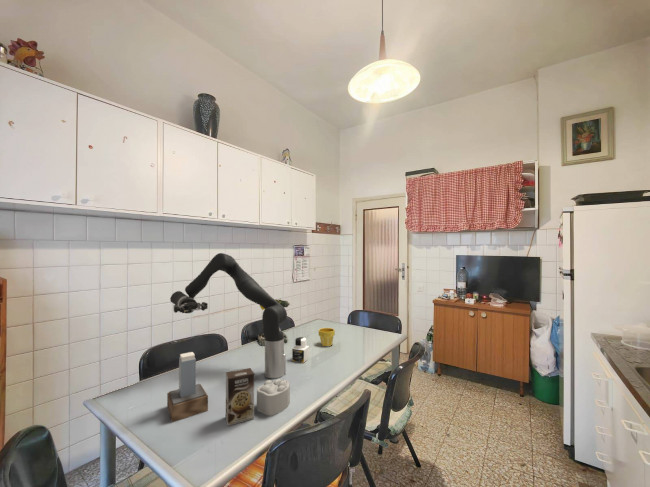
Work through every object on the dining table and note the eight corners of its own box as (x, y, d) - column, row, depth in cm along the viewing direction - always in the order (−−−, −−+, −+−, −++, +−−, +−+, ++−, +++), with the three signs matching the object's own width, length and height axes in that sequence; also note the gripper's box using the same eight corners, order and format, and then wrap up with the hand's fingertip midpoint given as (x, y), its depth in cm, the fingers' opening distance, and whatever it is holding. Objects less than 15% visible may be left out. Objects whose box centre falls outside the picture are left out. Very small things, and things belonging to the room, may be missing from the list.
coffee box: (227, 426, 96) (227, 378, 96) (225, 416, 101) (225, 371, 102) (254, 419, 100) (254, 373, 100) (250, 410, 106) (250, 366, 106)
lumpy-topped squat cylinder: (253, 408, 107) (253, 385, 107) (278, 394, 117) (278, 373, 118) (271, 417, 101) (271, 393, 101) (296, 402, 111) (296, 380, 111)
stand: (200, 397, 115) (200, 382, 115) (207, 410, 106) (207, 394, 106) (167, 407, 108) (167, 391, 108) (172, 422, 99) (172, 404, 99)
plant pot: (316, 343, 182) (316, 328, 183) (331, 341, 185) (331, 327, 186) (321, 348, 172) (321, 332, 173) (337, 346, 175) (336, 331, 176)
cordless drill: (261, 347, 176) (261, 303, 177) (256, 338, 194) (256, 298, 195) (290, 343, 184) (289, 300, 185) (282, 335, 201) (282, 296, 202)
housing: (193, 388, 111) (193, 351, 111) (195, 393, 107) (195, 355, 107) (178, 392, 108) (179, 354, 108) (181, 397, 104) (181, 358, 104)
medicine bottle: (292, 361, 153) (292, 339, 153) (298, 356, 159) (298, 335, 160) (303, 363, 150) (303, 340, 150) (309, 358, 157) (309, 336, 157)
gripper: (170, 298, 136) (176, 303, 123) (202, 295, 144) (210, 299, 131) (170, 313, 136) (176, 320, 123) (202, 310, 144) (210, 315, 131)
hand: (193, 309), depth 127 cm, fingers open, 8 cm apart
